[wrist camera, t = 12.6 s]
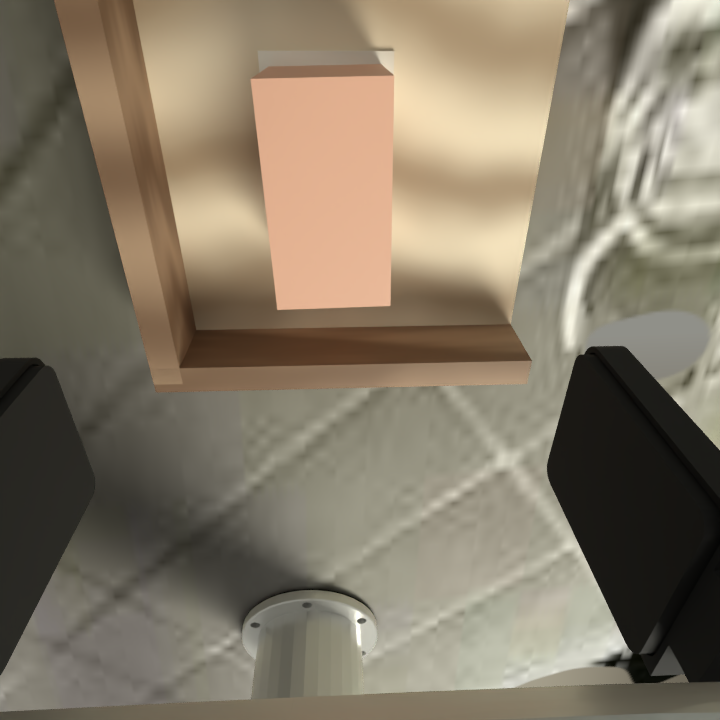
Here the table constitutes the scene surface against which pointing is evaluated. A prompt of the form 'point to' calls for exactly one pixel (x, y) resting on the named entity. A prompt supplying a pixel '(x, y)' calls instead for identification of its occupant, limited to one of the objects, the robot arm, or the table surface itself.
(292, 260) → the terracotta block
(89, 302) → the table surface
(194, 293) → the corner arena
